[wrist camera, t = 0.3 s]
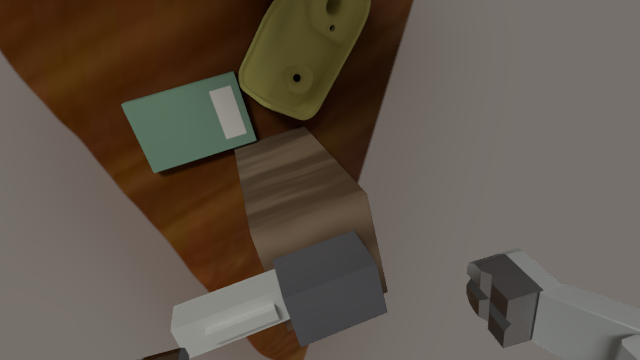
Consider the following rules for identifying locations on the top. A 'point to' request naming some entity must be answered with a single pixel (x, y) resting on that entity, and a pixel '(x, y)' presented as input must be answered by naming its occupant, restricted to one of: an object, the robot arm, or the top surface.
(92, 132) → the top surface
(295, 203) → the block
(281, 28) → the plastic component
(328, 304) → the plug
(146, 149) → the board
